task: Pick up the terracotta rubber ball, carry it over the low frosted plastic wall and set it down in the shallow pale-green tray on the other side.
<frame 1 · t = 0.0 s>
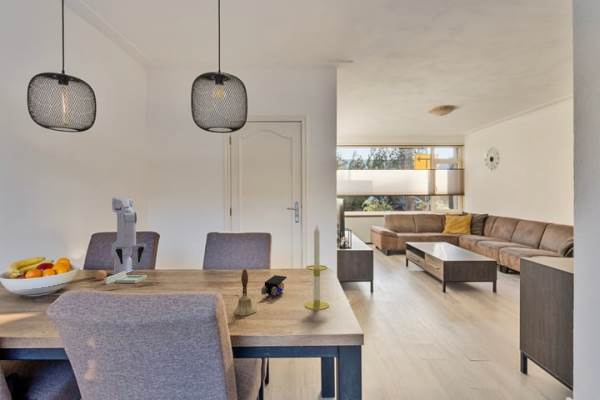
hand: (130, 263, 162), 11 cm above the table, tool pointing down, fingers open, 7 cm apart
tray: (131, 280, 171), on the table
candle: (316, 306, 130), on the table
wall: (116, 280, 171), on the table
figurine character: (274, 295, 144), on the table
hand bell: (244, 312, 123), on the table
ball: (100, 279, 172), on the table
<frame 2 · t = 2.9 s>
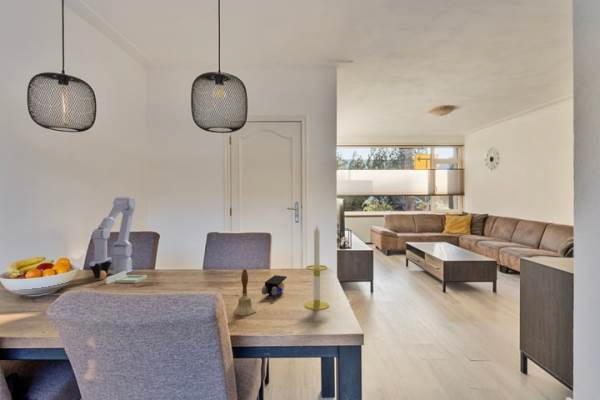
hand: (100, 277, 172), 1 cm above the table, tool pointing down, fingers closed on ball, 5 cm apart
ball: (100, 279, 172), on the table, touching gripper
everything else where it was.
when the fingers open (2 cm above the table, at t = 7.0 s): ball stays where it is, resting on tray.
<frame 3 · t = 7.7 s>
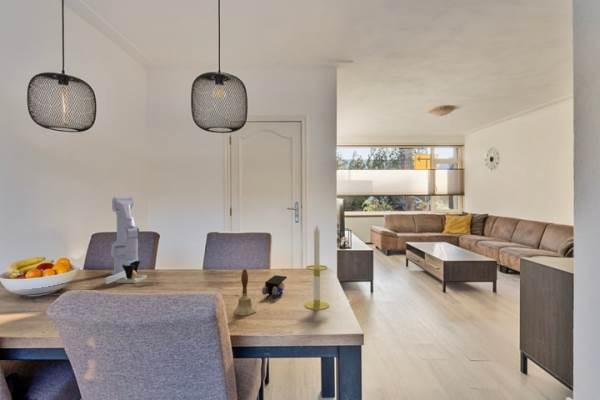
hand: (131, 276, 171), 2 cm above the table, tool pointing down, fingers open, 7 cm apart
ball: (131, 279, 171), resting on tray
everything else where it was.
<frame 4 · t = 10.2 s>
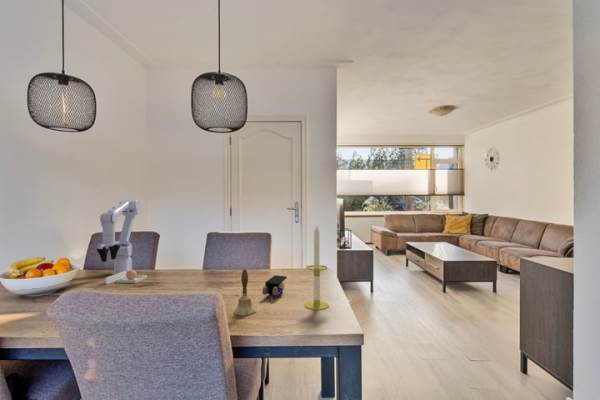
hand: (108, 260, 174), 10 cm above the table, tool pointing down, fingers open, 7 cm apart
ball: (131, 279, 171), resting on tray, tilted 14°
everything else where it was.
at the end: ball inside the target area on the tray (0.1 cm from its centre), point 0.5 cm above the tray's base; the gripper is holding nothing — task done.
